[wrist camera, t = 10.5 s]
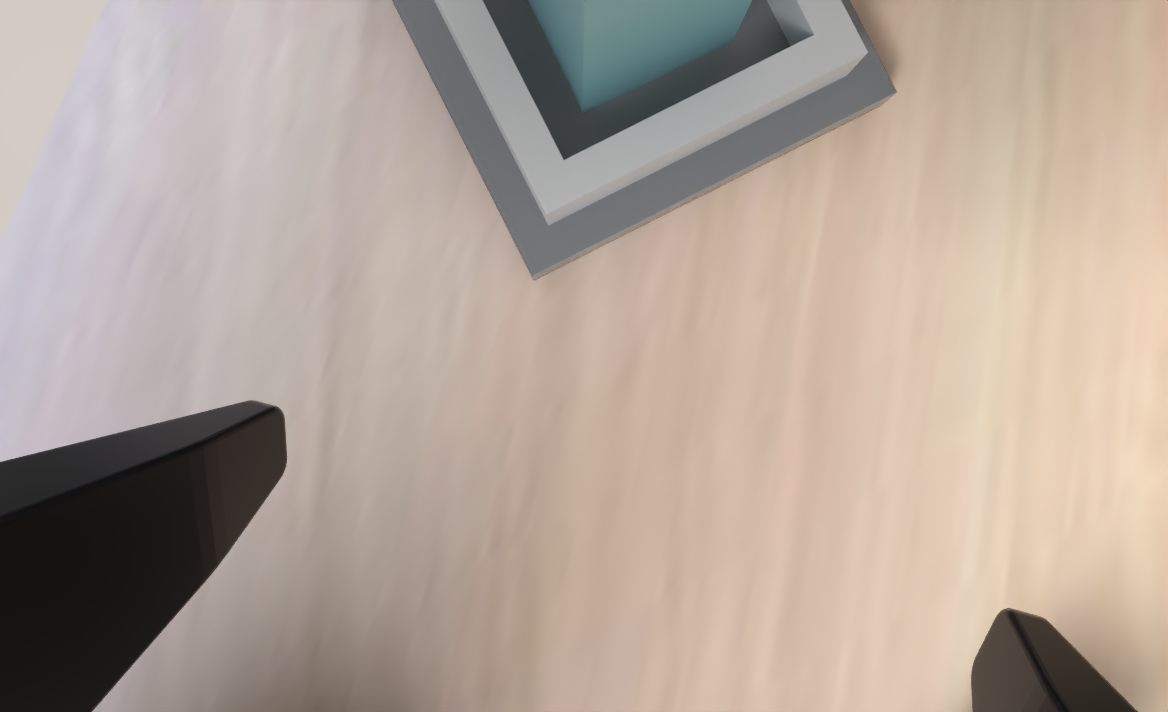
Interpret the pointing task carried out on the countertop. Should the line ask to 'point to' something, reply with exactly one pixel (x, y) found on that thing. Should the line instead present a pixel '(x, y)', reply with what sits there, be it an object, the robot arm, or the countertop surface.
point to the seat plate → (635, 114)
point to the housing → (631, 40)
